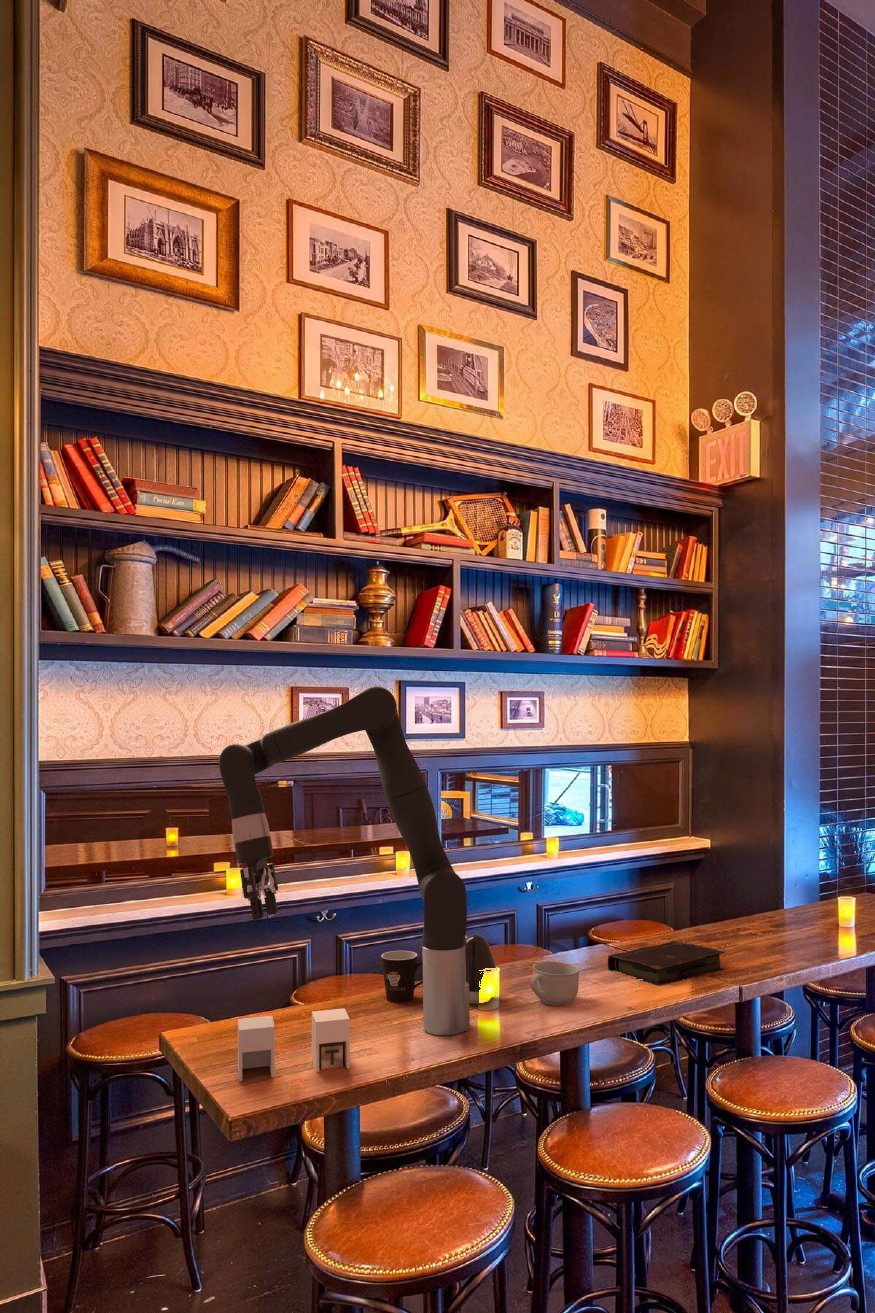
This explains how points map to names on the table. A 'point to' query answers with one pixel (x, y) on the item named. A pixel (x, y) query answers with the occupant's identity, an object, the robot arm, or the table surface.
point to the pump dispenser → (476, 963)
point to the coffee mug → (400, 975)
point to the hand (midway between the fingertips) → (265, 916)
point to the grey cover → (256, 1044)
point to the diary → (666, 962)
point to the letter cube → (331, 1055)
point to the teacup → (555, 982)
